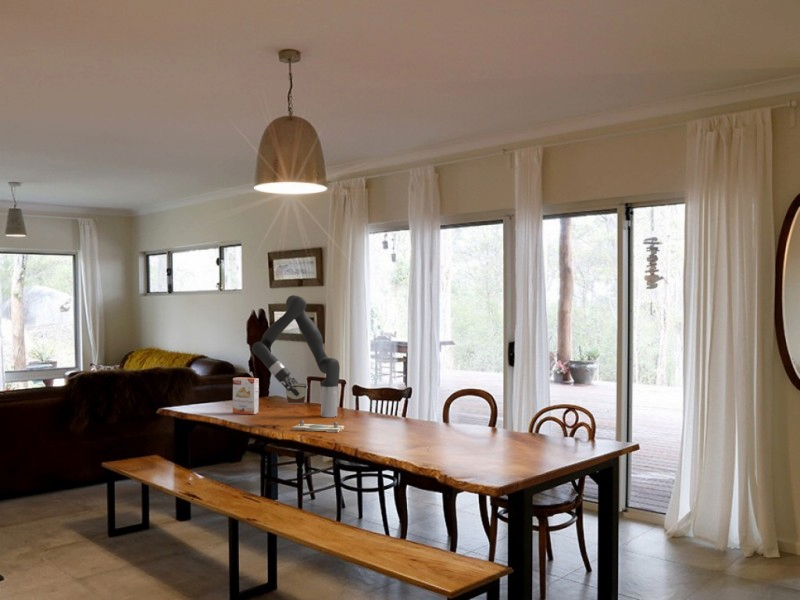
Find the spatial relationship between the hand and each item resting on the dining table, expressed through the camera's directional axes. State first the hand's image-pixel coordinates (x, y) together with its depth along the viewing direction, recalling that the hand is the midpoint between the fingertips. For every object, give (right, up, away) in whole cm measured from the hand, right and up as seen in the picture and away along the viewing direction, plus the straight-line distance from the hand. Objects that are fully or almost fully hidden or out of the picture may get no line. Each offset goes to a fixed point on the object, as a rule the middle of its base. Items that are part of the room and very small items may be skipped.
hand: (300, 394), depth 361 cm
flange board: (+11, -16, -15) cm, 25 cm away
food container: (-2, -5, 0) cm, 5 cm away
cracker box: (-37, -16, +35) cm, 54 cm away
